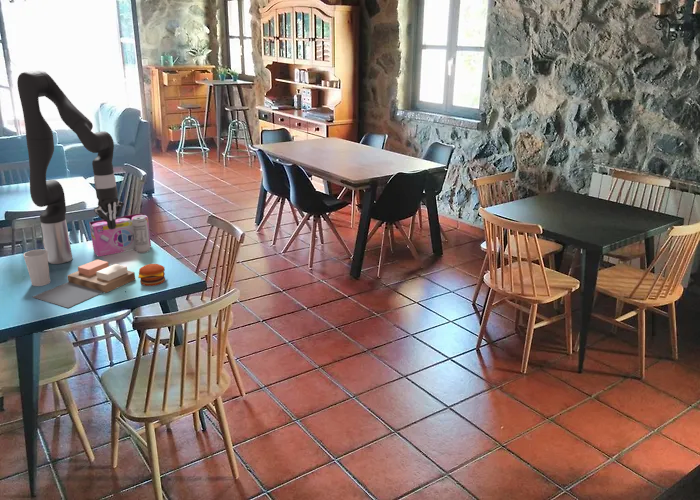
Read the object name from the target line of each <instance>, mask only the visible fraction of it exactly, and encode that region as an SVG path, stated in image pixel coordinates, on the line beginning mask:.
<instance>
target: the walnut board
mask: <svg viewBox="0 0 700 500" xmlns="http://www.w3.org/2000/svg"><path fill="white" fill-rule="evenodd" d="M127 272H128V273H126V274H123V275H121V276H119V277H117V278H114V279H112V280H110V281H107V280H103V279H99V278H97V274H93V275H91V276H88V275H84V274H80V273H79V271H78V270H77V271H74V272H72V273H70V274H68V275H67V282H71V283H74V284H78V285H81V286H85V287H89V288H92V289H96V290H99V291H103V292H104V293H103V294H107V293H109V292H111V291H113V290H115V289H118V288H120V287H122V286H124V285H126V284H129V283H131V282H133V281H136V273H135V272H134V271H131V270H127Z"/></svg>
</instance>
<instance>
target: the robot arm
mask: <svg viewBox="0 0 700 500" xmlns="http://www.w3.org/2000/svg"><path fill="white" fill-rule="evenodd" d="M16 81H17V91H18V94H19V99H20V104H21V109H22V114H23V121H24V127H25V138H26V147H27V153H28V164H29V193H30V198H31V200H32V202H33V204H35V206H36V207H39V208H42V207H43V208H44V207H45V209H44V211H42V212H41V213H40V214H39V220H40V226H41V231H42V236H43V238H42V242H43V243H42V244H43V247H44V248H43V250H47V253H48V264H51V265H52V264H53V265H60V264H65V263H68V262H71V261H72V260H73V253H72V248H71V247H72V246H71V241H70V240H71V239H70V237H69V231H68V225H67V220H66V215H67V206H66V197H65V191H64V188H63V186H62V184H61V183H60V182H59V181H58V180H55V179H50V180H49V179H48V180H47V171H48V167H49V165H50V162H51V160H52V157H53V155H54V152H55V141H54V140H55V139H54V133H53V130H52V128H51V127H50V124H48V122H47V120H46V119H45V118H44V116H43V114H42V112H41V108H40V102H39V100H40V99H39V98H41V97H45V98H47V99H48V100H50V101H51V102H52V103H53V104H54V105H55V107H56V109H57V112H58V113H59V117H60V119H61V121H62V122H63V123H64V124H65V125H66V126H67V127H68V128H69V129H70V130H71V131H72V132H73V133H75V134H76V137H77V138H78V140H79V141H80V143H81V144H82V145H83V147H84V148H85V149H86V150H87V151H88V152H91V153H92V154H96V153H97V156H96V157H95V158H93V160H92V170H93V171H92V172H93V182H94V189H95V195H96V199H97V206H96V208H94V209H93V212H94V214H96V215H97V216H98V217H99V218H100V220H107V225H108V228H109V229H115V228H116V221H115V219H116V217H120V215H121V212H122V209H123V207H124V205H125V203H124V202H122V201H119V198H118V188H117V181H116V176H115V171H114V165H113V159H114V148H115V147H114V146H115V142H114V139H113V136H112V135H111V134H110V133H109V132H107V131H98V132H95V133H94V132H93V131H92V129H93V123H92V121H91V120H90V119H89V118H88V117H87V116H86V115H84V113H82V112H81V111H80V110H79V109H78V108H77V107H76V106H75V105H74V104H73V103H72V101H70V99H69V98H68V96H67V95H66V94H65V93H64V91H63V90H62V89H61V88H60V87H59V85H58V84H57V83H56V81H55V80H54V79H53V78H52V76H50V74H49V73H47V72H46V71H42V70H34V71H33V70H32V71H31V70H30V71H24V72H21V73H20V74H19V75H18V77H17V80H16Z"/></svg>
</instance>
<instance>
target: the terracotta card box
mask: <svg viewBox="0 0 700 500" xmlns="http://www.w3.org/2000/svg"><path fill="white" fill-rule="evenodd" d="M109 266H110V265H109V261H106V260H101V259H99V258H97V259H94V260H93V261H90V262H87V263H84V264H81V265H79V266H77V271H79V273H80V274H84V275H88V276H91V275H93V274H96V272H97V271H99V270H102V269H104V268H107V267H109Z"/></svg>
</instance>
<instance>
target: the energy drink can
mask: <svg viewBox="0 0 700 500" xmlns="http://www.w3.org/2000/svg"><path fill="white" fill-rule="evenodd" d="M132 227H133V235H134V242H135V249H134V250H135V251H136V253H138V254H144V253H145V254H146V253H148V252H150V250H151V246H150V243H149V235H148V226H147V220H146V219H145V217H144V216H137V217H134V218H133V221H132Z"/></svg>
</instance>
